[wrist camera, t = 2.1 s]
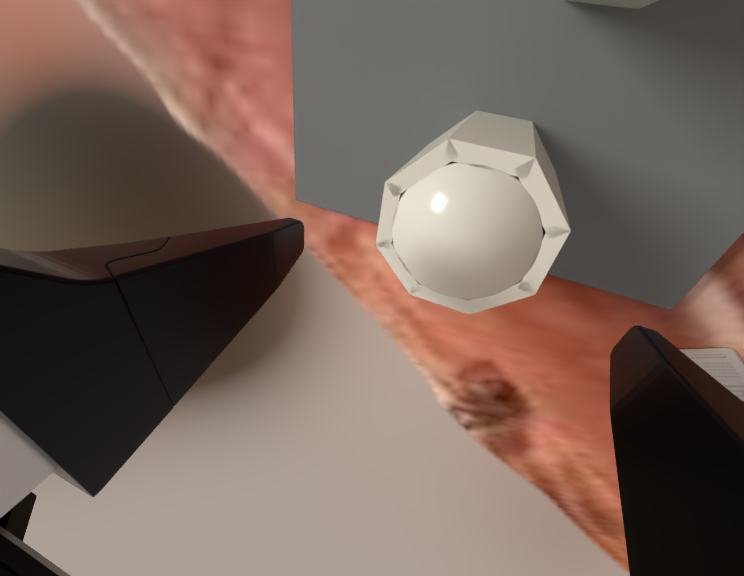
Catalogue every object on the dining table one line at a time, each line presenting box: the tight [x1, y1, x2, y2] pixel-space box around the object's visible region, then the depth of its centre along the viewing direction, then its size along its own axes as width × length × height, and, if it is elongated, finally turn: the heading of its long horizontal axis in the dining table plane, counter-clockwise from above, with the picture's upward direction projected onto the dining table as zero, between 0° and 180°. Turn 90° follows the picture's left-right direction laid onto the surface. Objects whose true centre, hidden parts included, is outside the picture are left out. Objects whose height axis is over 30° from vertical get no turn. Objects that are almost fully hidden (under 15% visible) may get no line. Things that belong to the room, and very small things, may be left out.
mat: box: [291, 0, 744, 310], centre depth 14 cm, size 22×18×1 cm
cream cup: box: [376, 110, 571, 315], centre depth 14 cm, size 6×6×7 cm
